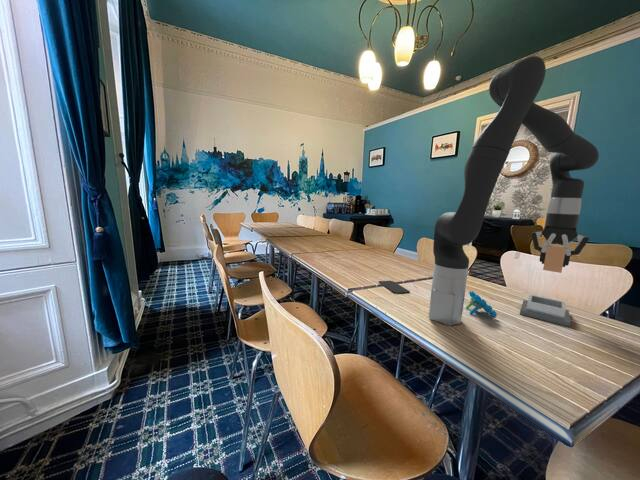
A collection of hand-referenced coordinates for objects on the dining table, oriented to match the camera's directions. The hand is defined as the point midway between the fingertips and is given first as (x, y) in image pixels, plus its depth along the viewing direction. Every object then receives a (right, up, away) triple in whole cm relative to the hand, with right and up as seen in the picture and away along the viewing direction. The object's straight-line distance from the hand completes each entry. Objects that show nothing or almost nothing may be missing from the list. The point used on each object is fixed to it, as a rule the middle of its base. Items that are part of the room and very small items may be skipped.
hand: (553, 264), depth 82 cm
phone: (-45, -13, +25) cm, 53 cm away
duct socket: (-1, -17, +3) cm, 17 cm away
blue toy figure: (-23, -17, +1) cm, 29 cm away
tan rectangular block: (0, -2, 0) cm, 2 cm away
